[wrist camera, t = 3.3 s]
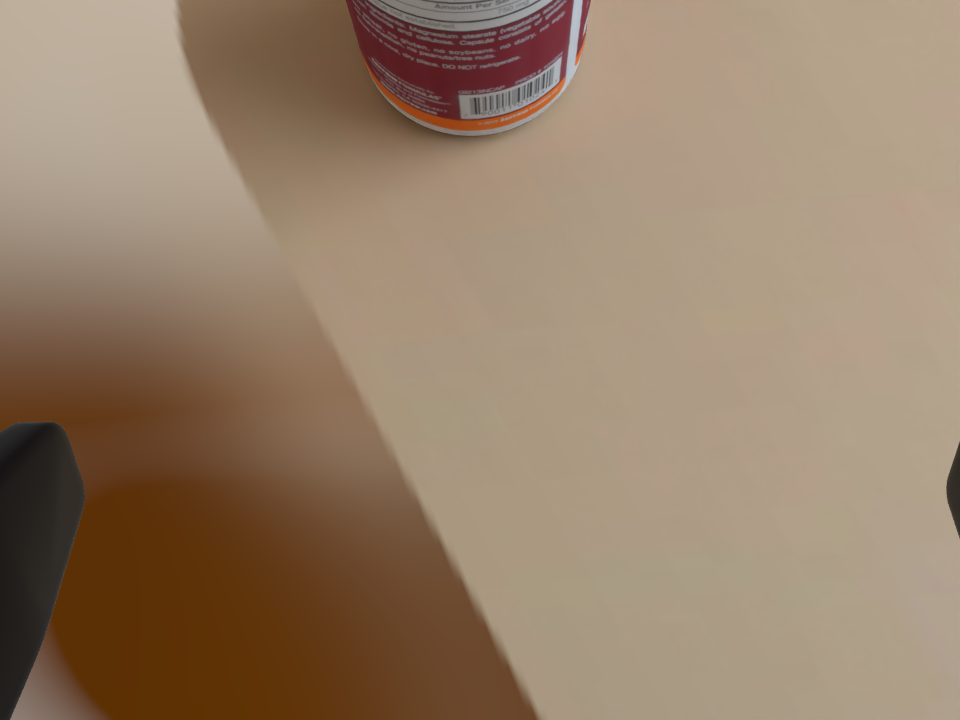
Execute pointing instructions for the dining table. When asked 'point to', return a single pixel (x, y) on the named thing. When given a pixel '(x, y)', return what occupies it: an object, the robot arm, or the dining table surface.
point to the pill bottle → (470, 58)
